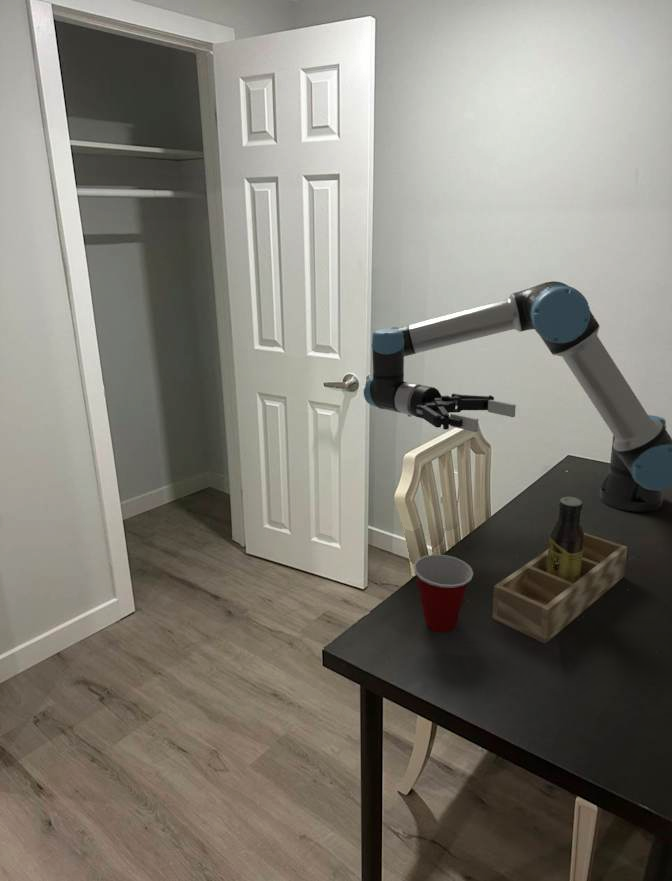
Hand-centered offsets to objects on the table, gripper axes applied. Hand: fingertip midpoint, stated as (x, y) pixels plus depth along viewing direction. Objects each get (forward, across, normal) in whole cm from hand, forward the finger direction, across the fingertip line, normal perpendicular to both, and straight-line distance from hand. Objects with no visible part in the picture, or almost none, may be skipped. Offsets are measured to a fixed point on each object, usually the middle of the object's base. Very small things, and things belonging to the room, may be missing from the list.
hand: (496, 418), depth 132 cm
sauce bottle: (+20, +5, -31) cm, 37 cm away
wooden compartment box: (+20, +5, -32) cm, 38 cm away
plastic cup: (+9, +29, -32) cm, 44 cm away
